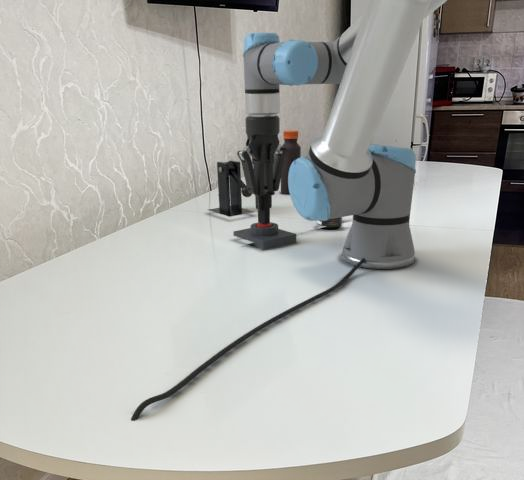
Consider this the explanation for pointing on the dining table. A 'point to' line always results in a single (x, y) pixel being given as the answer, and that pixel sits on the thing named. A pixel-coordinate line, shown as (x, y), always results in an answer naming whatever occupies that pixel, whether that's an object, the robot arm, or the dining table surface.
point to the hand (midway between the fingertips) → (263, 222)
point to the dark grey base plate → (266, 236)
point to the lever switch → (229, 191)
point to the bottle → (289, 157)
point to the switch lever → (238, 180)
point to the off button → (264, 225)
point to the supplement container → (331, 224)
